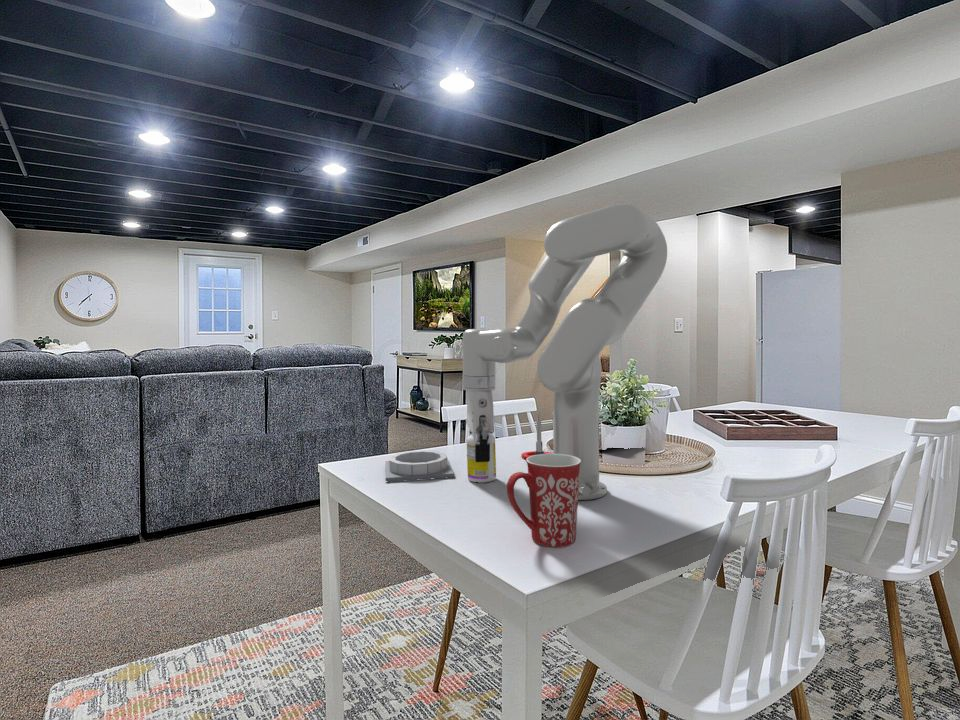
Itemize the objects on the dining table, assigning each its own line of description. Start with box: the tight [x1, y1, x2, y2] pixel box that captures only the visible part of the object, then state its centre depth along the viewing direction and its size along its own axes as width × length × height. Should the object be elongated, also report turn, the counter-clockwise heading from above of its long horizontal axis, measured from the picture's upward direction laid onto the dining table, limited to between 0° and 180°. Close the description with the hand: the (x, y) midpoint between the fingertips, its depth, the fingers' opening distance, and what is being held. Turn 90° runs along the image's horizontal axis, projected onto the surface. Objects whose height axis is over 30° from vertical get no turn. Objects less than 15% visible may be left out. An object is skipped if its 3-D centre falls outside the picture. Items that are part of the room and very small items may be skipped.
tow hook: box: [520, 411, 553, 460], centre depth 149 cm, size 8×13×9 cm
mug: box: [506, 453, 581, 548], centre depth 92 cm, size 13×9×14 cm
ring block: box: [384, 450, 456, 482], centre depth 138 cm, size 16×16×4 cm
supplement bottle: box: [466, 431, 497, 484], centre depth 129 cm, size 7×7×13 cm
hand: (478, 456), depth 130 cm, fingers open, 9 cm apart
